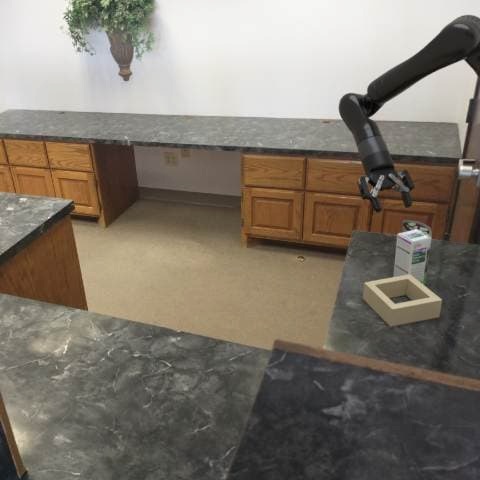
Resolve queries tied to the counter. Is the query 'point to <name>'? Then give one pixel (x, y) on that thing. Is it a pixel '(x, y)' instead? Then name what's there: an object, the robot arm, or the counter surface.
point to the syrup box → (412, 254)
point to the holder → (406, 312)
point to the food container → (415, 227)
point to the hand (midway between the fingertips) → (394, 209)
